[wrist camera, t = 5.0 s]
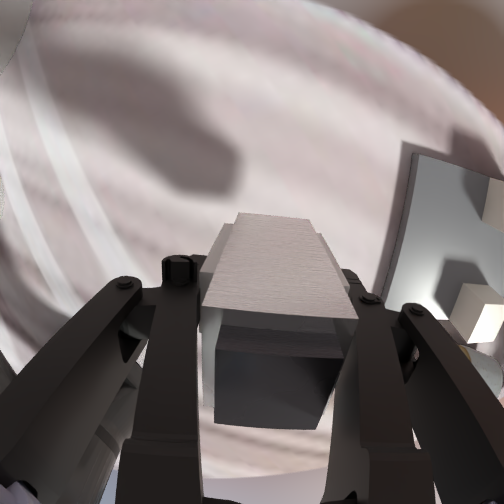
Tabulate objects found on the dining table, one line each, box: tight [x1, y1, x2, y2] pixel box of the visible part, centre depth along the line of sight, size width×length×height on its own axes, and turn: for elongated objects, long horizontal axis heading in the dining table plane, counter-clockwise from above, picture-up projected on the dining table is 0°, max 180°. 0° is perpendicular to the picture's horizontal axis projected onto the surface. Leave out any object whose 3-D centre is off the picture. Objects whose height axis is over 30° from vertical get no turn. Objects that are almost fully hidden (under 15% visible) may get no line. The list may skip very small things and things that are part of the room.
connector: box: [202, 212, 359, 430], centre depth 12 cm, size 4×4×11 cm
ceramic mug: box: [458, 345, 503, 398], centre depth 24 cm, size 11×8×8 cm
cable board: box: [381, 153, 504, 343], centre depth 19 cm, size 16×14×5 cm
